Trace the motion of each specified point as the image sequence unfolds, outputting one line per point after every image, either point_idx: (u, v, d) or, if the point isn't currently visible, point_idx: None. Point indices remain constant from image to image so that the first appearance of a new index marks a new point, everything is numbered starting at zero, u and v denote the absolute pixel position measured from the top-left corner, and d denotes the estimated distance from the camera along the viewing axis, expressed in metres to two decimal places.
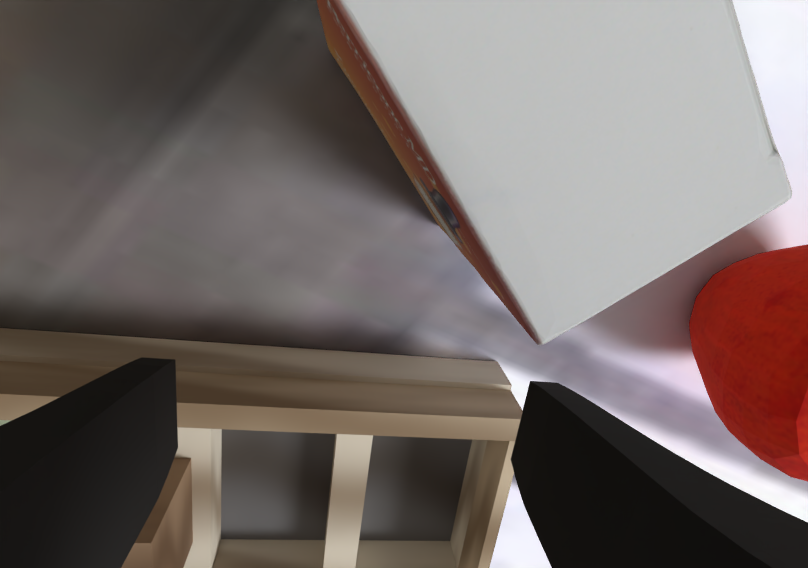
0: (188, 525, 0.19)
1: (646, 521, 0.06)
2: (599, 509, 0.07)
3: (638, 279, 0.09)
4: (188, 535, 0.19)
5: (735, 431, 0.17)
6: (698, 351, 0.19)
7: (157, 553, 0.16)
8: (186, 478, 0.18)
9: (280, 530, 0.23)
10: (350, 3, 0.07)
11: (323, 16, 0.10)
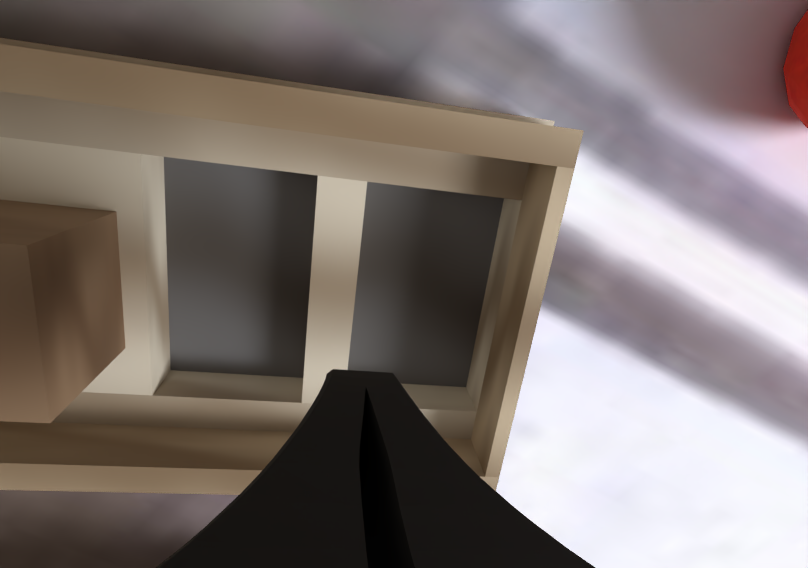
0: (115, 312, 0.14)
1: (387, 517, 0.06)
2: (374, 505, 0.07)
3: None
4: (115, 327, 0.14)
5: None
6: (807, 74, 0.14)
7: (45, 281, 0.11)
8: (107, 231, 0.13)
9: (247, 361, 0.17)
10: None
11: None
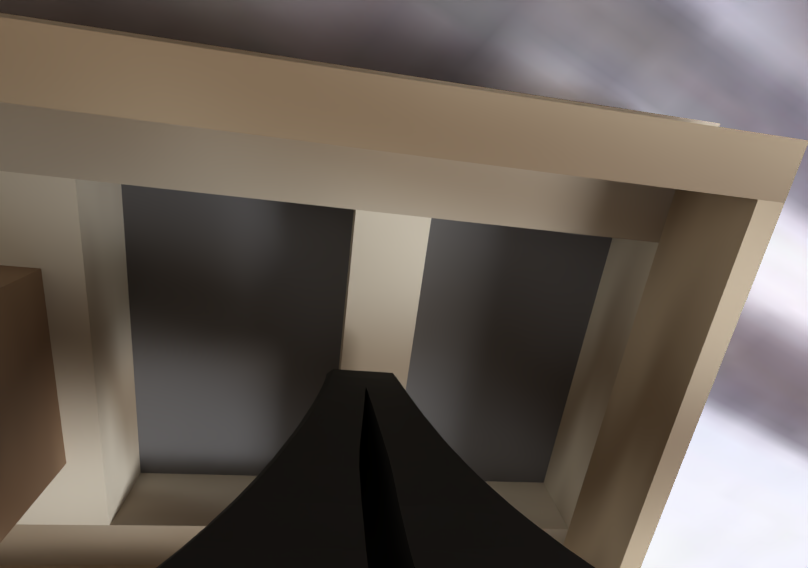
0: (43, 420, 0.09)
1: (387, 517, 0.06)
2: (374, 506, 0.07)
3: None
4: (45, 442, 0.09)
5: None
6: None
7: None
8: (22, 303, 0.08)
9: (248, 458, 0.13)
10: None
11: None
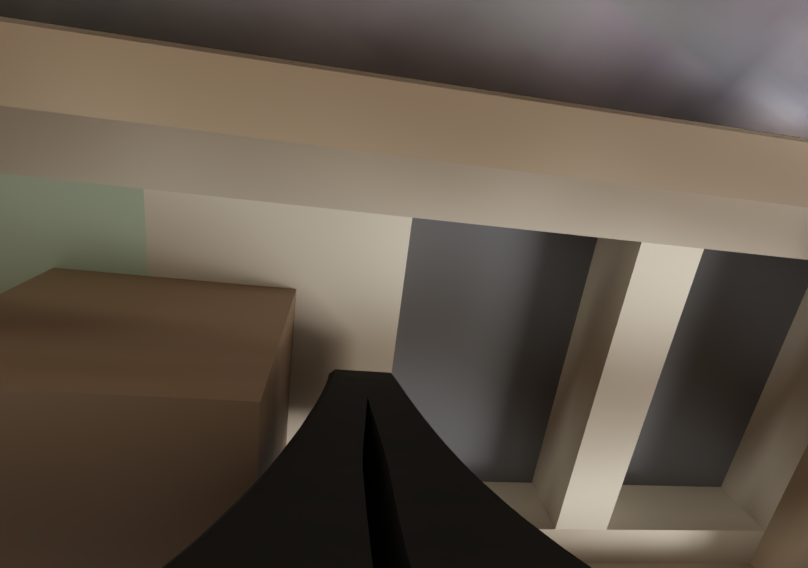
0: (285, 428, 0.10)
1: (384, 517, 0.06)
2: (372, 505, 0.07)
3: None
4: None
5: None
6: None
7: (263, 444, 0.06)
8: (291, 322, 0.09)
9: None
10: None
11: None
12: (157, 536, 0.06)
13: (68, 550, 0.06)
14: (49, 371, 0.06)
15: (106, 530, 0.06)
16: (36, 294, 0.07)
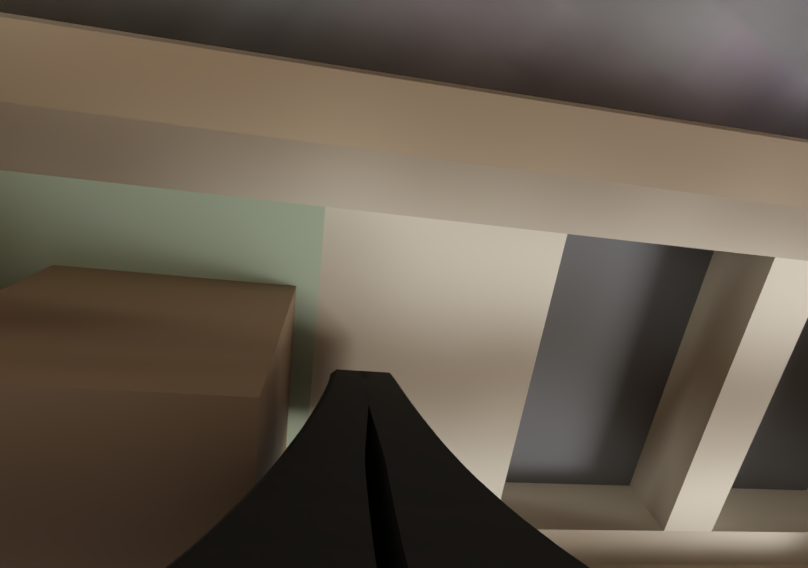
0: (285, 426, 0.10)
1: (382, 517, 0.06)
2: (371, 505, 0.07)
3: None
4: (284, 447, 0.10)
5: None
6: None
7: (262, 441, 0.06)
8: (291, 319, 0.09)
9: (568, 468, 0.14)
10: None
11: None
12: (156, 533, 0.06)
13: (66, 546, 0.06)
14: (47, 367, 0.06)
15: (105, 526, 0.06)
16: (35, 290, 0.07)
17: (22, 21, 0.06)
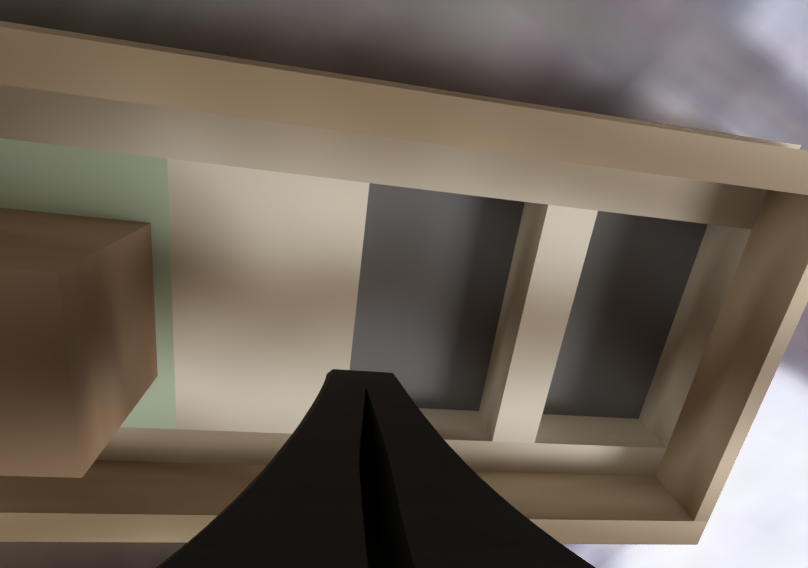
0: (148, 337, 0.12)
1: (387, 517, 0.06)
2: (375, 505, 0.07)
3: None
4: (148, 354, 0.12)
5: None
6: None
7: (77, 313, 0.09)
8: (141, 247, 0.11)
9: (422, 394, 0.16)
10: None
11: None
12: None
13: None
14: None
15: None
16: None
17: None
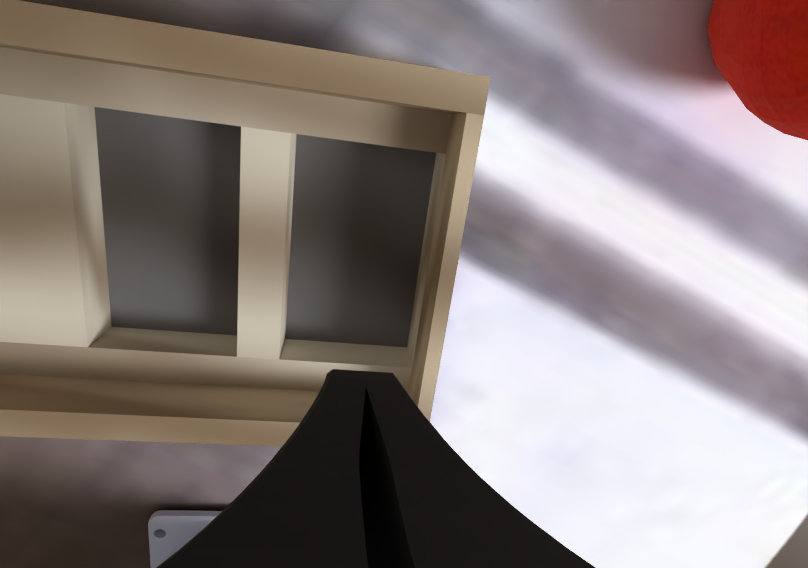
0: None
1: (387, 517, 0.06)
2: (375, 505, 0.07)
3: None
4: None
5: (778, 84, 0.12)
6: (722, 28, 0.14)
7: None
8: None
9: (188, 318, 0.18)
10: None
11: None
12: None
13: None
14: None
15: None
16: None
17: None
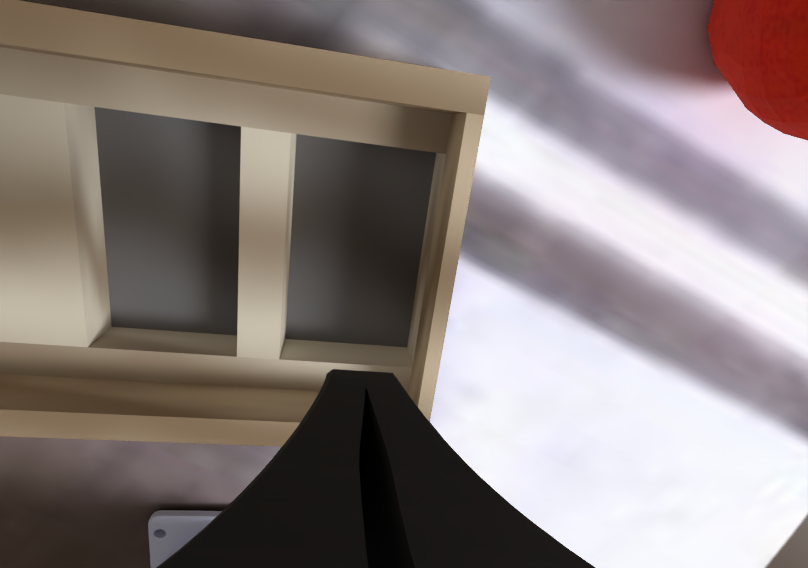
0: None
1: (387, 517, 0.06)
2: (375, 505, 0.07)
3: None
4: None
5: (778, 84, 0.12)
6: (722, 28, 0.14)
7: None
8: None
9: (188, 318, 0.18)
10: None
11: None
12: None
13: None
14: None
15: None
16: None
17: None
